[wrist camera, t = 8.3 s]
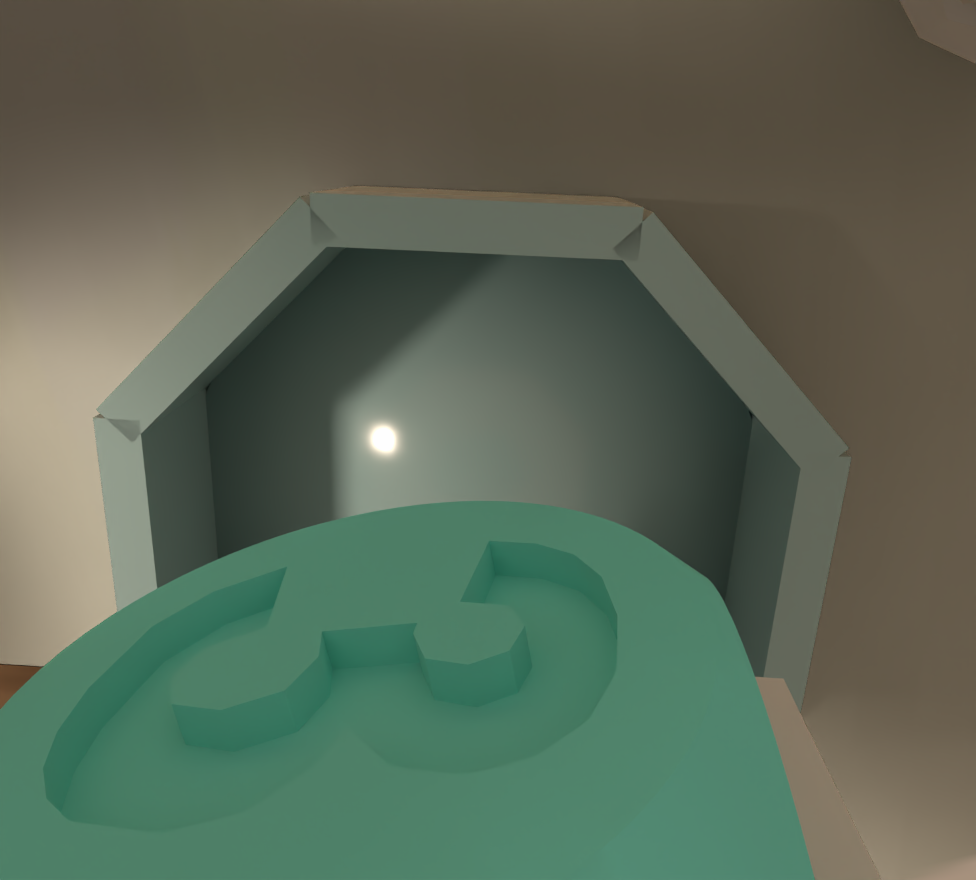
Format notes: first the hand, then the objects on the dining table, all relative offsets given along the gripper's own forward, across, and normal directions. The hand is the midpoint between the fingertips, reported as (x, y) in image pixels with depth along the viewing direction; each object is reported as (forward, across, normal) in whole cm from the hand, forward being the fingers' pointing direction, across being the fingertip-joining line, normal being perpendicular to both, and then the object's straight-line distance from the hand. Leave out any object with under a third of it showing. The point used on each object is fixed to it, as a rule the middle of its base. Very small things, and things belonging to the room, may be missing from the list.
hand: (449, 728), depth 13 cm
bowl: (+10, 0, 0) cm, 10 cm away
